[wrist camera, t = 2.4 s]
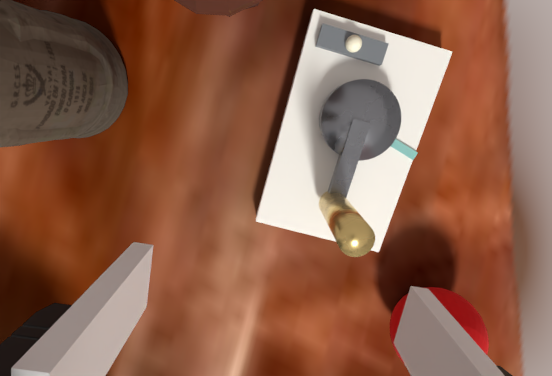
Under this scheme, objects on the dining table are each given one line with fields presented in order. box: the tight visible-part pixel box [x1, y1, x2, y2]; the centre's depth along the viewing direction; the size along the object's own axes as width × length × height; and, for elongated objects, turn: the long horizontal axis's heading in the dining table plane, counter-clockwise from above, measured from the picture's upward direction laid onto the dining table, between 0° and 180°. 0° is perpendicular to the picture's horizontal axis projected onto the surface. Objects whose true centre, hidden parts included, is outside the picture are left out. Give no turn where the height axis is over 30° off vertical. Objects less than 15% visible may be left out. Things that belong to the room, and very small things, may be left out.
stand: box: [256, 9, 452, 252], centre depth 32 cm, size 13×20×4 cm, turn 165°
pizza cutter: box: [319, 79, 401, 257], centre depth 27 cm, size 13×7×10 cm, turn 165°
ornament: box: [390, 287, 489, 363], centre depth 34 cm, size 9×9×10 cm
